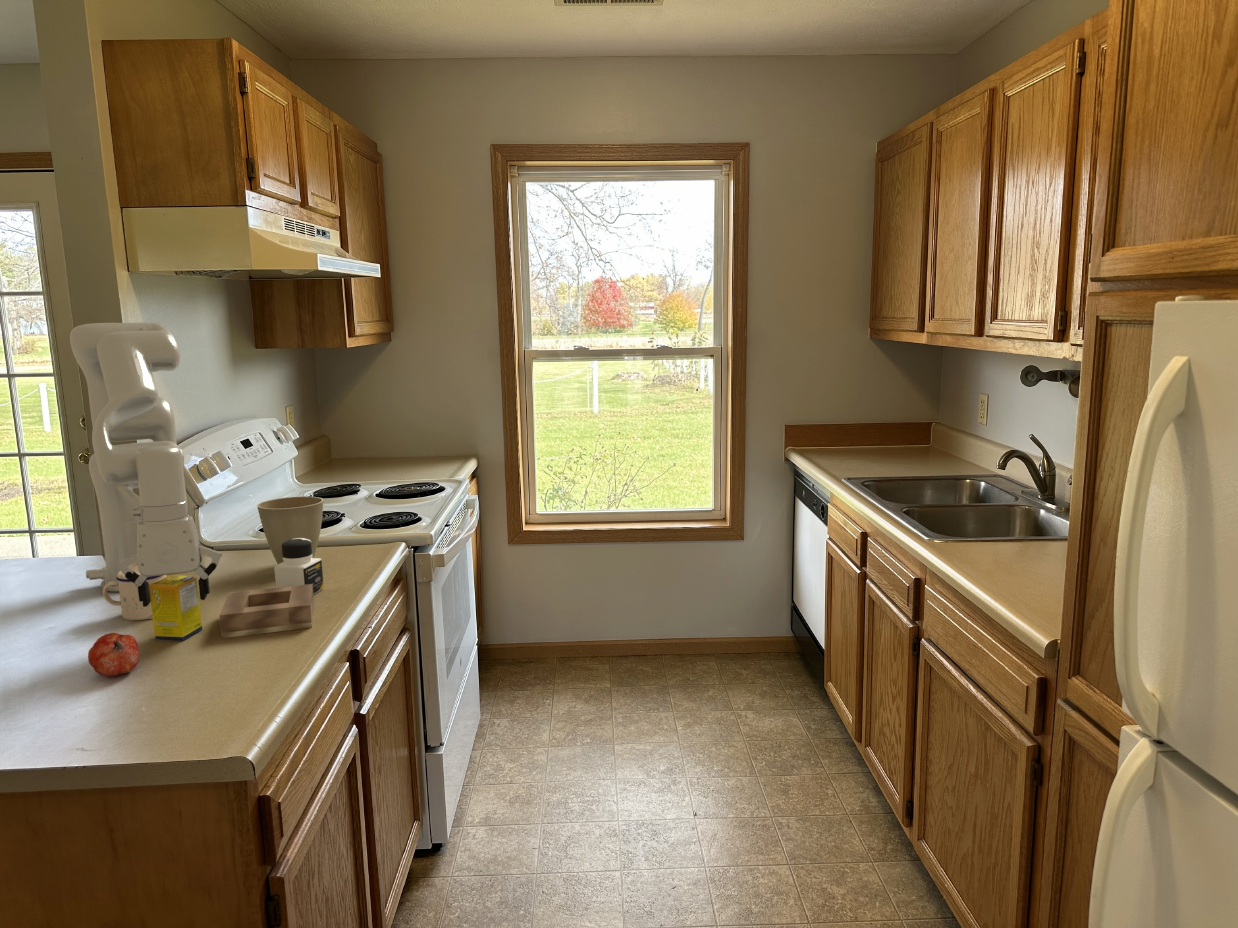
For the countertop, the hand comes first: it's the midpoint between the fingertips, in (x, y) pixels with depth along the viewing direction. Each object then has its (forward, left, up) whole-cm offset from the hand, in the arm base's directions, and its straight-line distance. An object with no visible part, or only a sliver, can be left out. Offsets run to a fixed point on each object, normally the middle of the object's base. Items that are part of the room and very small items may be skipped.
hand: (175, 601), depth 157 cm
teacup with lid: (-10, +16, -7) cm, 21 cm away
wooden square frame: (+16, +2, -7) cm, 17 cm away
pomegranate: (-7, -16, -7) cm, 19 cm away
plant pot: (+19, +41, -7) cm, 46 cm away
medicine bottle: (+21, +18, -7) cm, 29 cm away
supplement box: (0, 0, -7) cm, 7 cm away
